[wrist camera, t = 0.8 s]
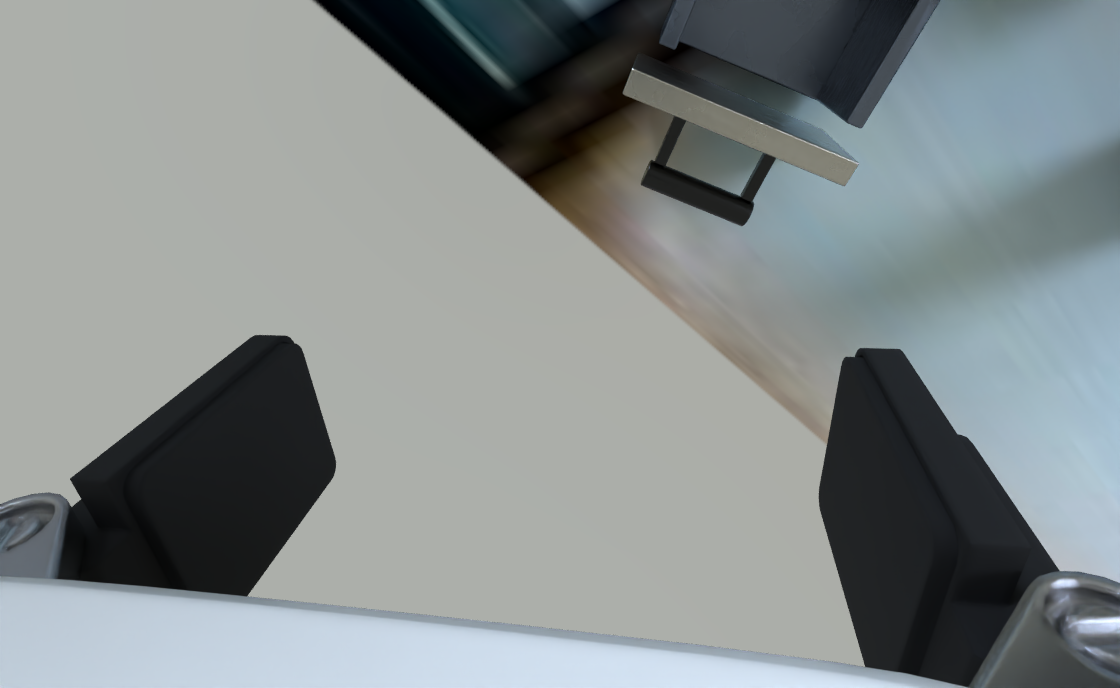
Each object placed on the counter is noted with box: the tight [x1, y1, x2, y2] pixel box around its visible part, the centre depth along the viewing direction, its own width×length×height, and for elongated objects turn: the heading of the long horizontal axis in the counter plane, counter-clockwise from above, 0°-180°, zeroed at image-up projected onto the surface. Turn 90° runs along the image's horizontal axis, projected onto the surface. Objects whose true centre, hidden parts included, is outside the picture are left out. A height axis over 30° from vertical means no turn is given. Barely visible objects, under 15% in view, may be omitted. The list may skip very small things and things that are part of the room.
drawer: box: [623, 0, 940, 226], centre depth 29 cm, size 18×11×8 cm, turn 160°
